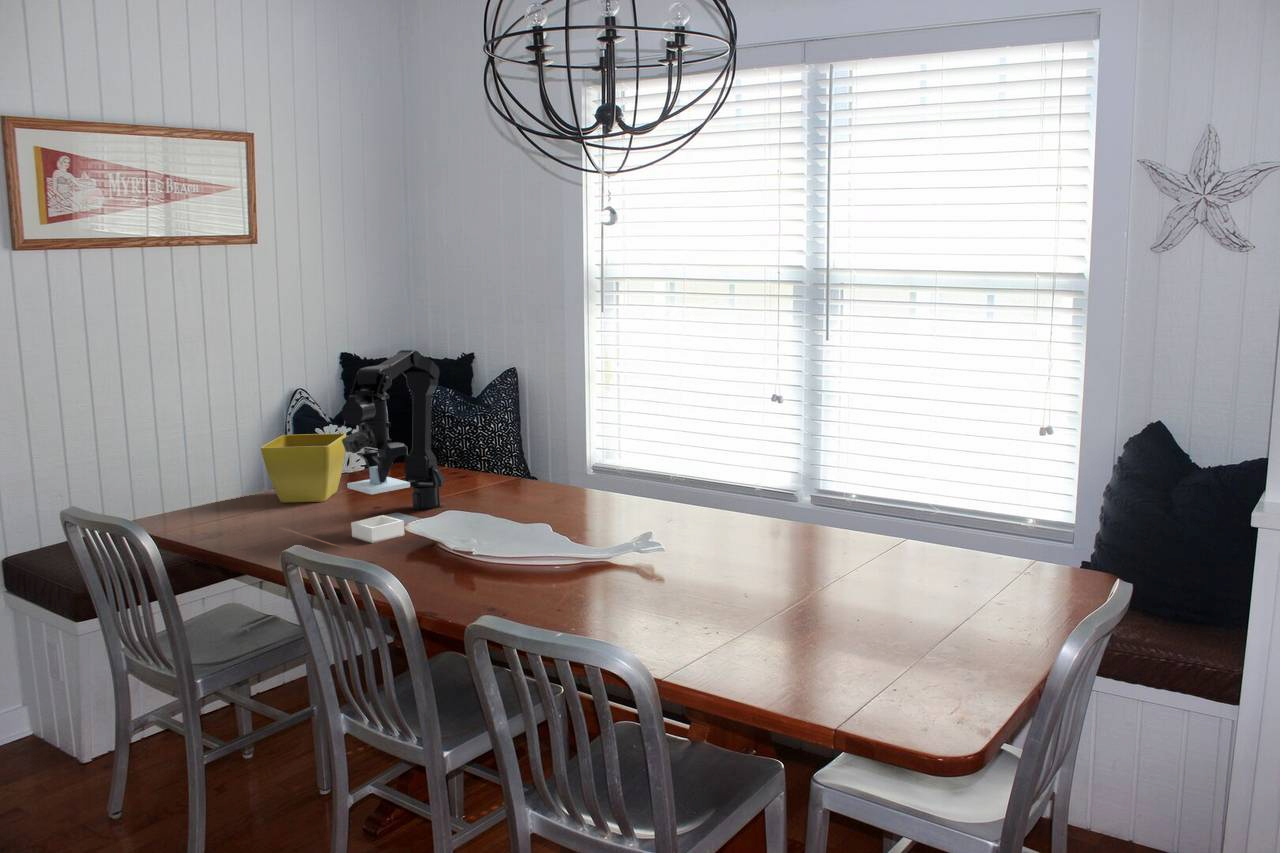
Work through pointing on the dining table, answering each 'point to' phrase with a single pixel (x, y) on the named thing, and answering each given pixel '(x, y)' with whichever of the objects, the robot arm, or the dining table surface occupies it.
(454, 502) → the dining table surface
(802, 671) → the dining table surface
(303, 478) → the flower pot
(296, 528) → the dining table surface
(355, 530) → the white open box
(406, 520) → the mat
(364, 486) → the lid
